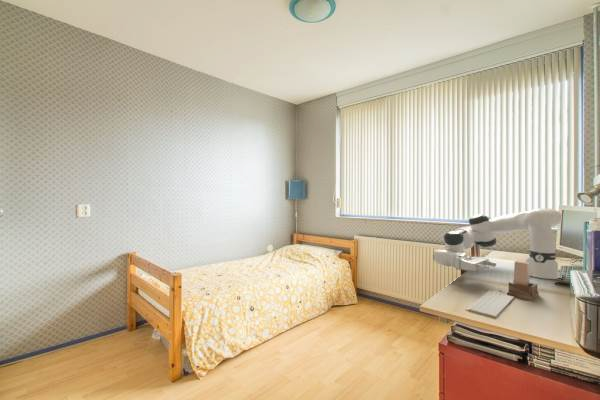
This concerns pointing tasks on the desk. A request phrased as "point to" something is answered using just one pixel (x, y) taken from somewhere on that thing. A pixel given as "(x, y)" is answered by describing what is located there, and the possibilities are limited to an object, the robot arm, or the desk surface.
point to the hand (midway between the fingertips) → (492, 266)
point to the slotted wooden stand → (523, 291)
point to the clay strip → (522, 273)
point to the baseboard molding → (490, 304)
